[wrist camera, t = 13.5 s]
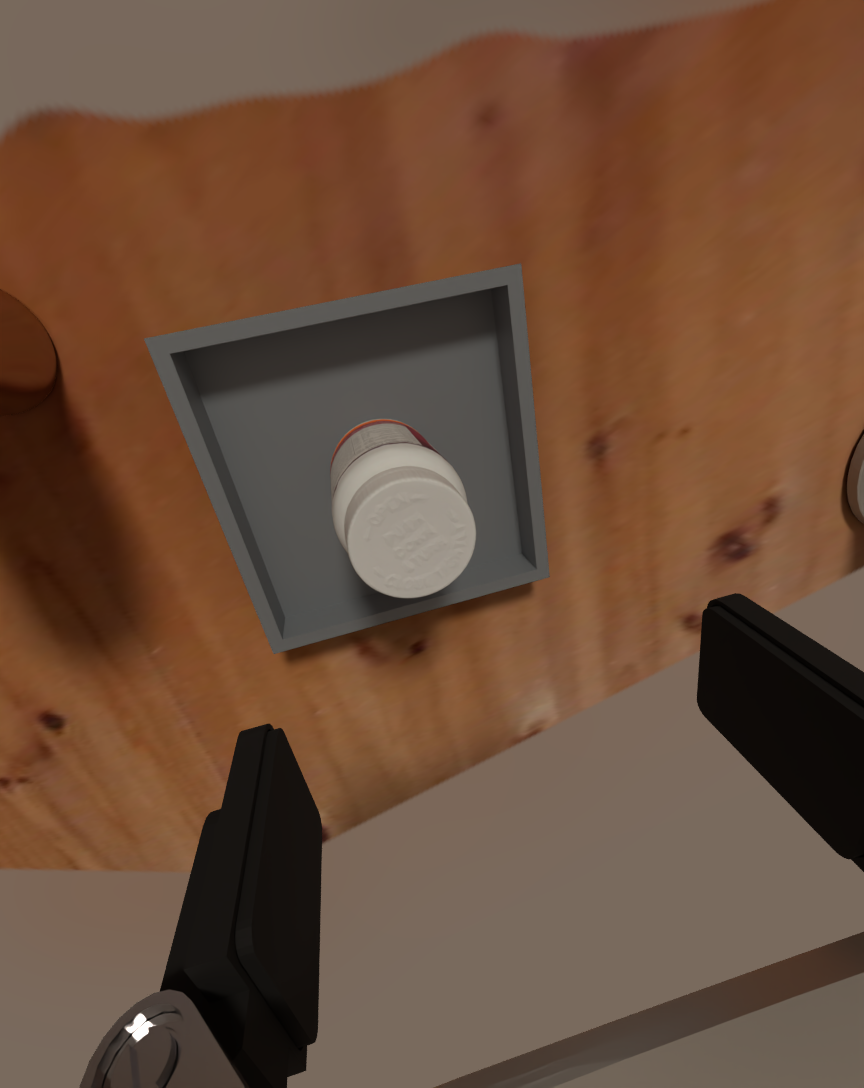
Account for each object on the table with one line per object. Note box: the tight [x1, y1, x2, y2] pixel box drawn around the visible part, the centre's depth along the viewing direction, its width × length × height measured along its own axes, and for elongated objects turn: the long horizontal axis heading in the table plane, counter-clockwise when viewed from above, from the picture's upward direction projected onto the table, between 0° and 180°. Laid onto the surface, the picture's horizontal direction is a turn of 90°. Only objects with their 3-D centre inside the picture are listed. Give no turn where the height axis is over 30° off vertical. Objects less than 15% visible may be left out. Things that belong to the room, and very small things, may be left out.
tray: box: [144, 264, 550, 654], centre depth 28 cm, size 18×18×3 cm
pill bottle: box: [330, 419, 476, 598], centre depth 24 cm, size 6×6×11 cm
